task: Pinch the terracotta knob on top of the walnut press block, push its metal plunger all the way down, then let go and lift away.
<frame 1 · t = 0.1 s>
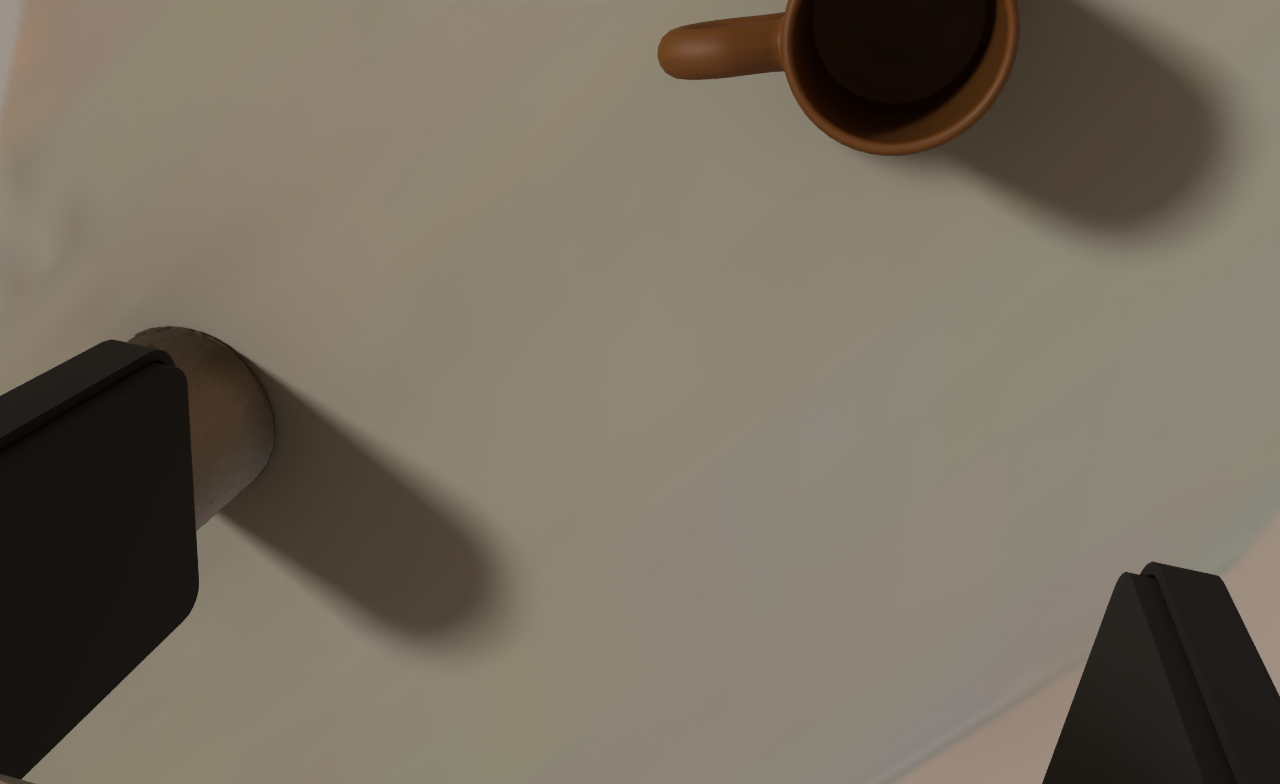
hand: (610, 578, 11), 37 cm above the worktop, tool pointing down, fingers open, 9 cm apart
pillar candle: (195, 412, 58), on the worktop
mug: (841, 21, 43), on the worktop
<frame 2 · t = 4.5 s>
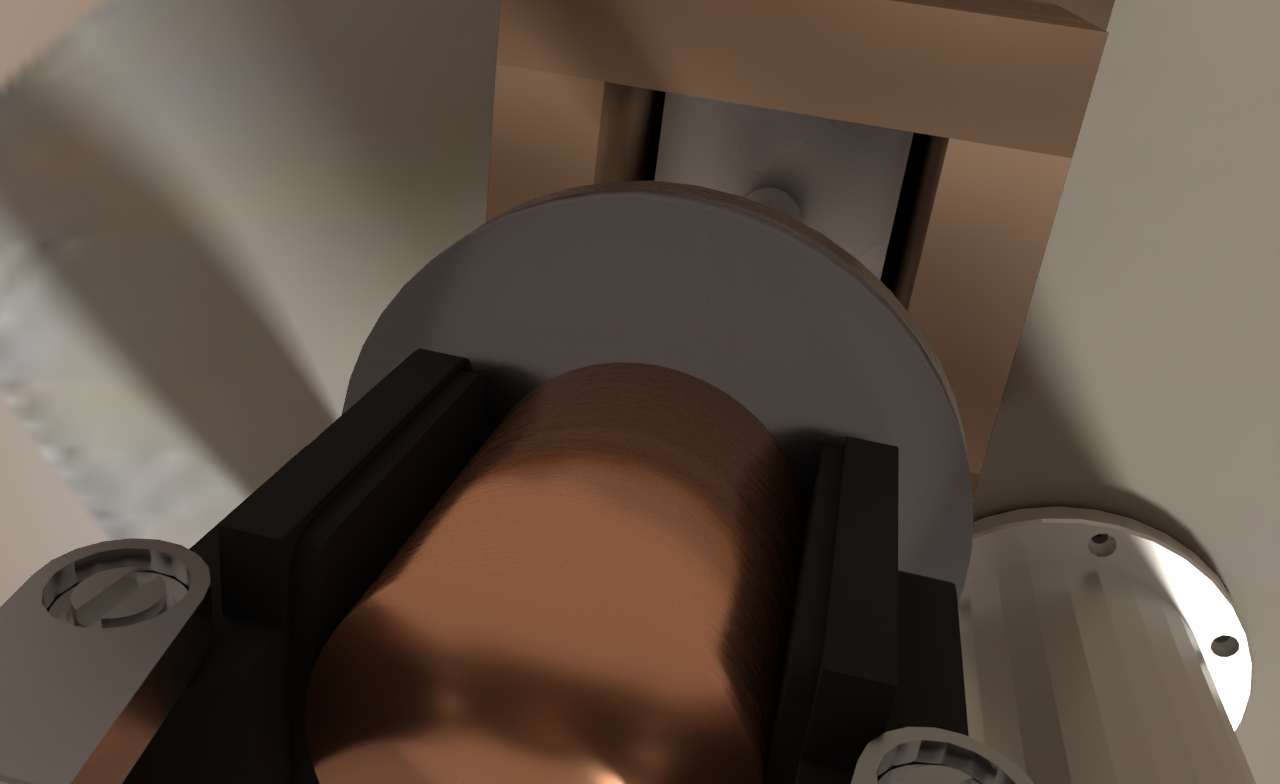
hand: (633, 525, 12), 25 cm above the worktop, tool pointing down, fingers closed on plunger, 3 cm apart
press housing: (808, 129, 34), on the worktop
plunger: (710, 351, 16), point 19 cm above the worktop, slide at 0.1 cm, touching gripper
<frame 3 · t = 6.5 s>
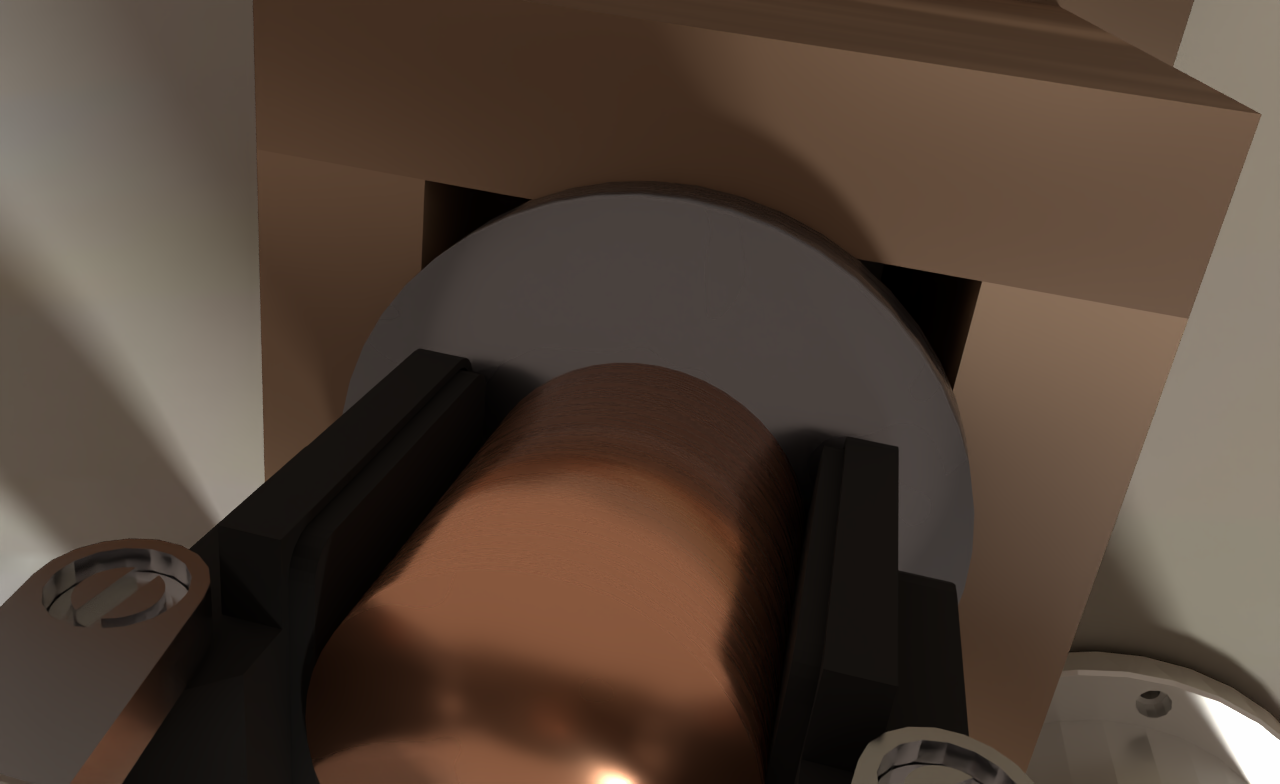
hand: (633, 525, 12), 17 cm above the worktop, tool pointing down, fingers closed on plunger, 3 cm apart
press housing: (783, 186, 27), on the worktop
plunger: (710, 352, 16), point 11 cm above the worktop, slide at 8.1 cm, touching gripper
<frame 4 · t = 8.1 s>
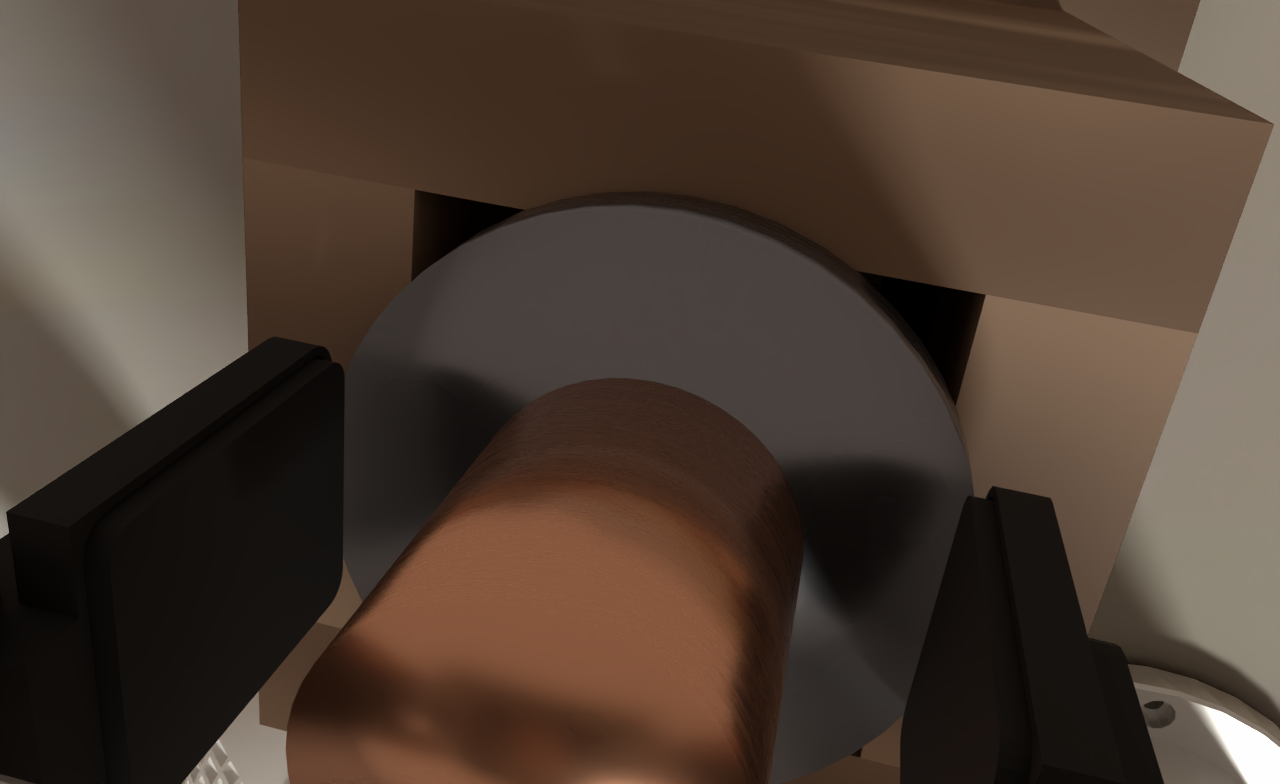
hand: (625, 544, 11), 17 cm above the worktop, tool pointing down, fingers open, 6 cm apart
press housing: (783, 191, 26), on the worktop
plunger: (708, 362, 16), point 11 cm above the worktop, slide at 8.1 cm
skyscraper: (270, 672, 36), on the worktop
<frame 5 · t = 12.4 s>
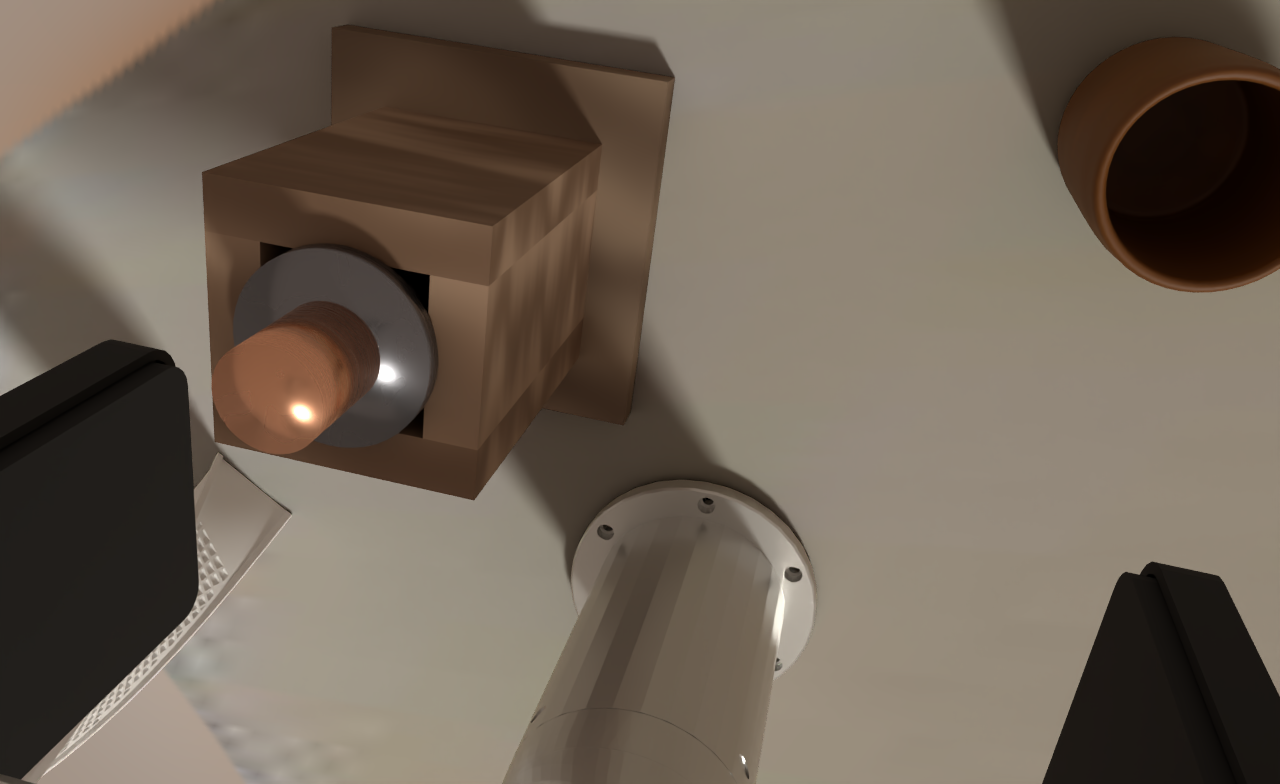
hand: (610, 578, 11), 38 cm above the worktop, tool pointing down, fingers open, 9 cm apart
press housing: (495, 227, 51), on the worktop
plunger: (393, 304, 41), point 11 cm above the worktop, slide at 8.1 cm
skyscraper: (236, 508, 61), on the worktop
mug: (1200, 161, 44), on the worktop
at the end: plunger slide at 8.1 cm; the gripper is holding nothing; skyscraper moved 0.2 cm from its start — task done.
